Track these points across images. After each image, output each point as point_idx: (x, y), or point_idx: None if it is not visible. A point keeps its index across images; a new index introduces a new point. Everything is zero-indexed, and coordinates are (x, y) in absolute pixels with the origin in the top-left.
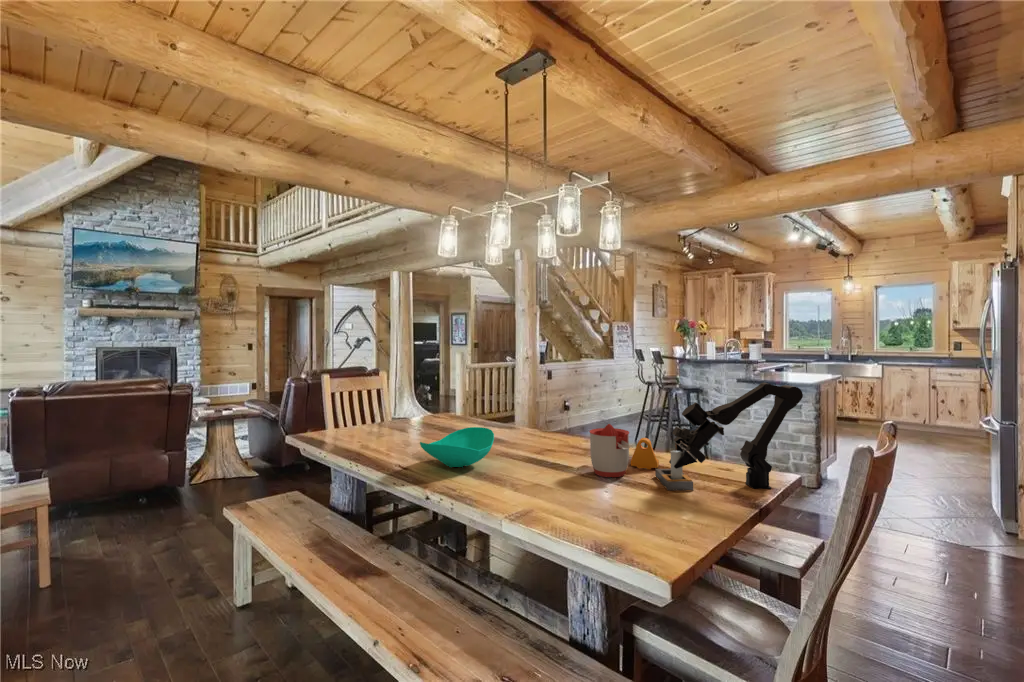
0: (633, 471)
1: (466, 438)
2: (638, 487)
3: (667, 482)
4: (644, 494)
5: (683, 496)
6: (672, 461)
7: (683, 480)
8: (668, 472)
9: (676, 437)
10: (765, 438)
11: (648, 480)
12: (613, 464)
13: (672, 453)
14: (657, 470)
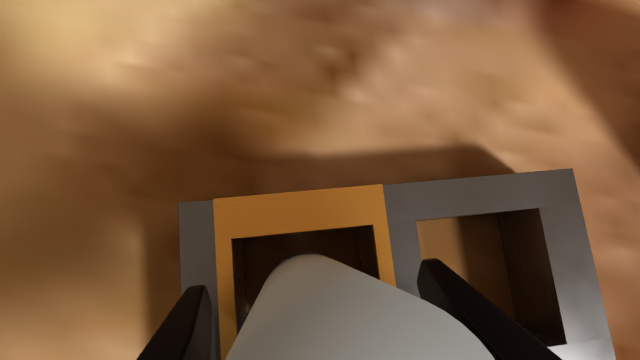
0: (614, 55)
1: None
2: (256, 27)
3: (193, 202)
4: (103, 38)
5: (55, 299)
6: (276, 285)
7: (220, 357)
8: (538, 273)
9: None
10: None
11: (424, 117)
12: None
13: (262, 317)
14: (524, 177)
